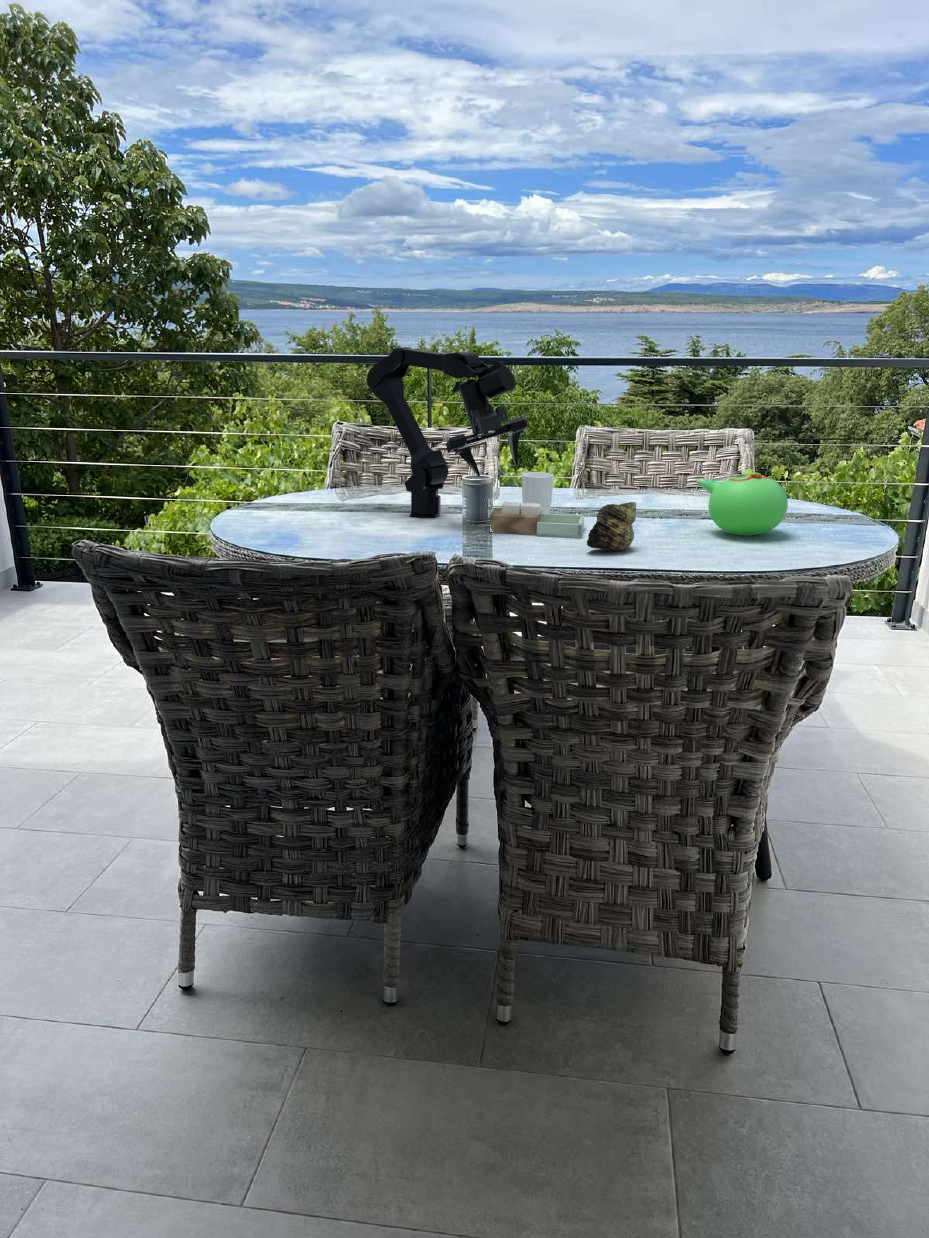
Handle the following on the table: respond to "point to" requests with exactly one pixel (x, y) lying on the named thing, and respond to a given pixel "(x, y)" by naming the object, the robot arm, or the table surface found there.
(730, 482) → the green teapot
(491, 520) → the tan cardboard slab
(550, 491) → the white cup
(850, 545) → the table surface
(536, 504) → the tile
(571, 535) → the tray
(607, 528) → the seashell
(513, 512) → the tile
